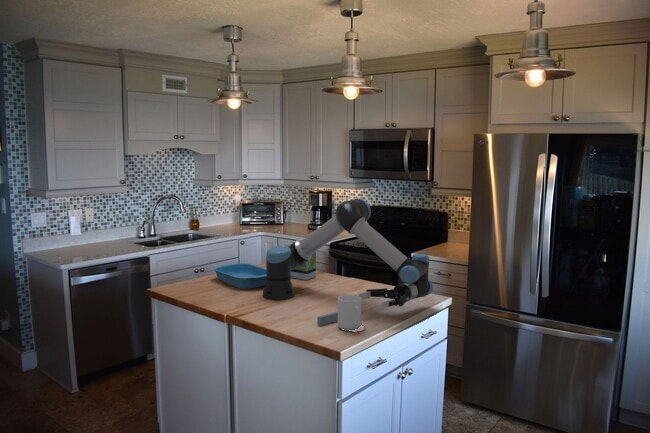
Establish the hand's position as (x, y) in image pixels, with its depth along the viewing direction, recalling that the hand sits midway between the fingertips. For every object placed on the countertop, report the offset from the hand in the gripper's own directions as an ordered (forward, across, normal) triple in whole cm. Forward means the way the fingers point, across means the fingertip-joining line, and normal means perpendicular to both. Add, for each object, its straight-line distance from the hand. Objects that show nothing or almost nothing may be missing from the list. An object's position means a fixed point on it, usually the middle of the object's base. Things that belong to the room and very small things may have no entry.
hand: (370, 301), depth 213 cm
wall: (+10, +10, -9) cm, 17 cm away
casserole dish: (+8, +87, -10) cm, 88 cm away
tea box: (-23, +78, -10) cm, 82 cm away
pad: (+10, 0, -9) cm, 13 cm away
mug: (+10, 0, -9) cm, 14 cm away
